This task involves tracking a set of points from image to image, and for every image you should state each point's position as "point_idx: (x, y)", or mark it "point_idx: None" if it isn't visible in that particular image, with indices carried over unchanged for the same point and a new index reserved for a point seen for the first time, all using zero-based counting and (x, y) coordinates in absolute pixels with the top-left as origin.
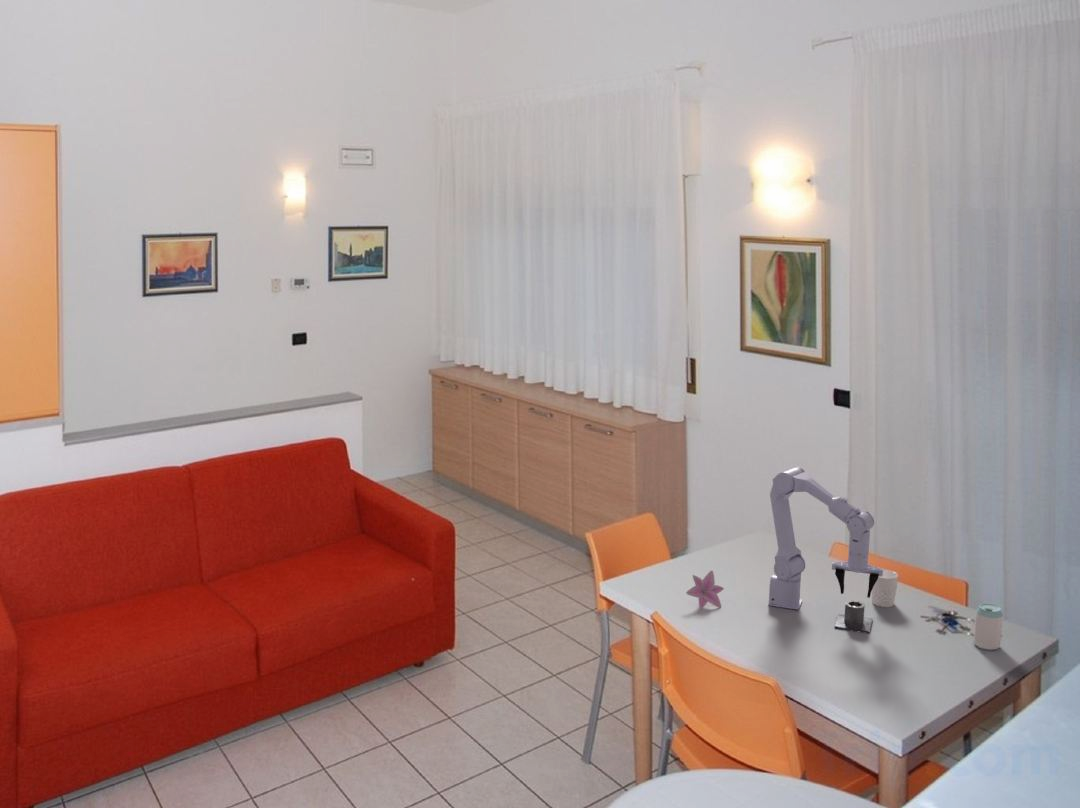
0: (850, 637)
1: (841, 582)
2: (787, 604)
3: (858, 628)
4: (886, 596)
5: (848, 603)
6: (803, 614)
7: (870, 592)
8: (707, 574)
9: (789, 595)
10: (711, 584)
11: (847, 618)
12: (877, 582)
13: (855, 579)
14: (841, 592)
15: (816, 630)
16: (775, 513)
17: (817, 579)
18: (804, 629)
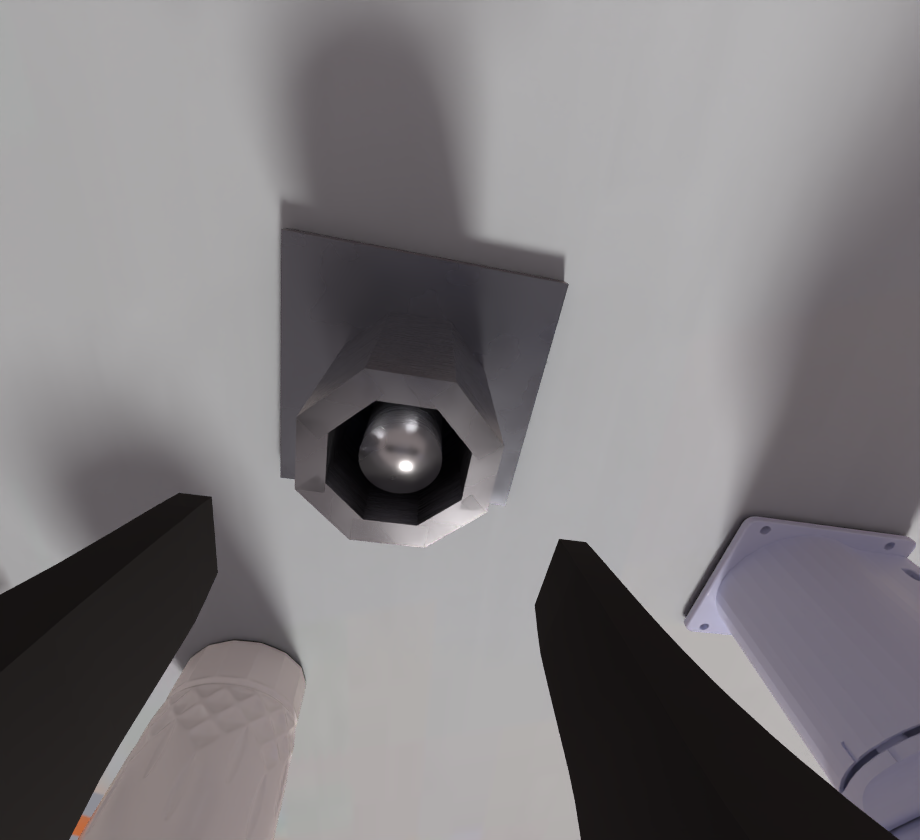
0: (452, 91)
1: (698, 712)
2: (823, 544)
3: (376, 279)
4: (190, 708)
5: (467, 473)
6: (731, 466)
7: (91, 546)
8: None
9: (868, 597)
10: None
11: (467, 357)
12: (215, 824)
13: (386, 824)
14: (590, 551)
15: (727, 197)
16: None
17: (547, 799)
18: (824, 197)
